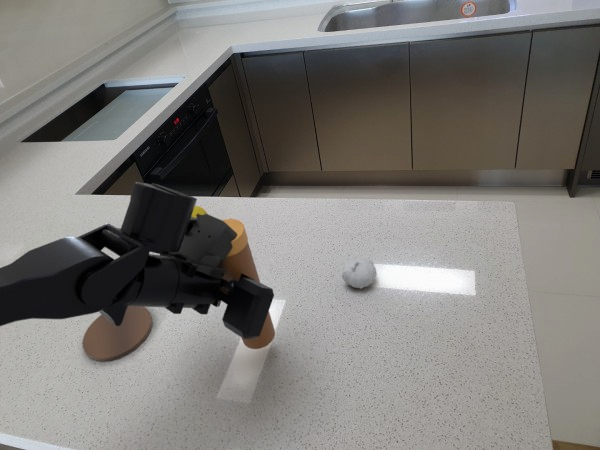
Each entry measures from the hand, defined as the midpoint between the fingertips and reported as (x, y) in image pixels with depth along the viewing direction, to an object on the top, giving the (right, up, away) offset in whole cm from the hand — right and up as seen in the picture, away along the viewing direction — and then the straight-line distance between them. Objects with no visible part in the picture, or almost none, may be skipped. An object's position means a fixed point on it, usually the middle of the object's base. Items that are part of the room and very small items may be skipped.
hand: (252, 289), depth 64 cm
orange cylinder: (+1, -7, +4) cm, 9 cm away
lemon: (-14, +6, +35) cm, 38 cm away
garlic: (+17, -1, +16) cm, 24 cm away
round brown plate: (-25, -10, +16) cm, 32 cm away
